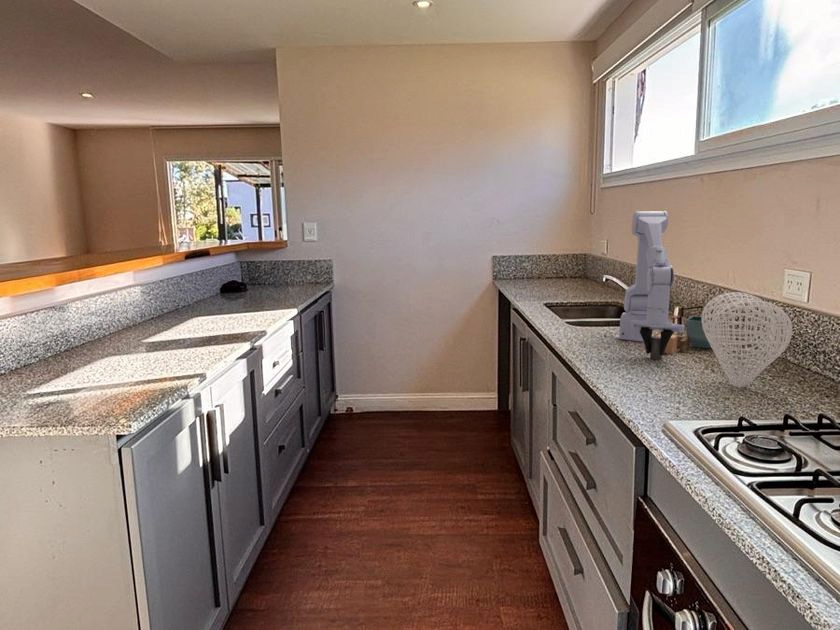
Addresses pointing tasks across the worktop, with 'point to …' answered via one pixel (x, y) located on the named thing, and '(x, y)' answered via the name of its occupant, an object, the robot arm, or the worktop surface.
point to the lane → (681, 342)
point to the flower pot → (697, 332)
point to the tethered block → (656, 346)
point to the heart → (769, 335)
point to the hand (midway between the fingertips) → (655, 353)
